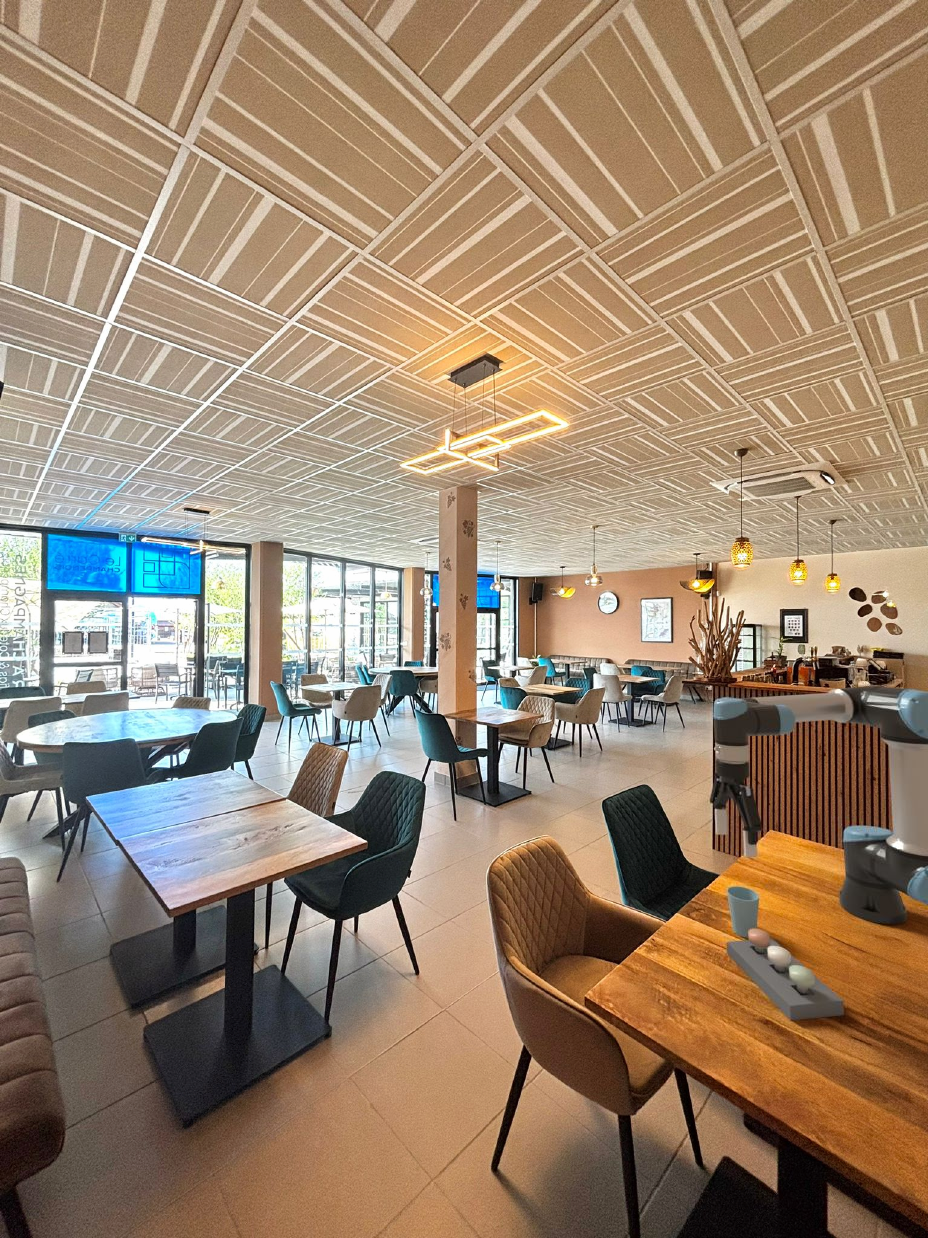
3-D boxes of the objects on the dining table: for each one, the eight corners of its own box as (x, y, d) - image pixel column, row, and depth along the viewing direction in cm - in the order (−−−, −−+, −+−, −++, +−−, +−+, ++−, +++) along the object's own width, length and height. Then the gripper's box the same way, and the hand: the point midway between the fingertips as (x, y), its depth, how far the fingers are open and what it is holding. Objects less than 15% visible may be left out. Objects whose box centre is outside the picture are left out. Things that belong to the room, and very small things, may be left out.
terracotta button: (762, 944, 127) (761, 928, 127) (775, 955, 122) (774, 939, 122) (744, 945, 126) (744, 929, 126) (757, 957, 122) (756, 940, 122)
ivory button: (782, 962, 120) (781, 945, 120) (796, 975, 115) (795, 957, 115) (763, 964, 119) (762, 946, 119) (777, 977, 115) (776, 959, 115)
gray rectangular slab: (771, 950, 129) (771, 938, 129) (844, 1015, 107) (843, 1000, 107) (727, 954, 128) (726, 942, 128) (790, 1020, 106) (789, 1006, 106)
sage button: (804, 982, 113) (803, 964, 113) (820, 997, 108) (819, 978, 108) (785, 984, 112) (784, 966, 112) (800, 999, 108) (799, 980, 108)
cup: (767, 936, 134) (765, 896, 135) (748, 944, 131) (746, 903, 132) (741, 921, 141) (740, 883, 142) (722, 929, 138) (720, 890, 139)
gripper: (694, 749, 140) (697, 826, 140) (744, 774, 116) (748, 868, 115) (721, 748, 141) (724, 825, 140) (777, 773, 116) (781, 867, 115)
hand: (735, 845), depth 127 cm, fingers open, 13 cm apart
